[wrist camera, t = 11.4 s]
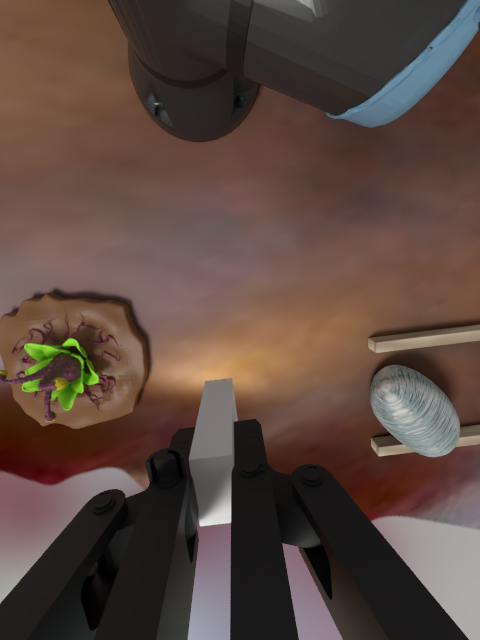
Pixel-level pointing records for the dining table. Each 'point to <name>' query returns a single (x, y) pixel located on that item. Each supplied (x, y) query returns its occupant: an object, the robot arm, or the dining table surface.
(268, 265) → the dining table surface
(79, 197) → the dining table surface
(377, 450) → the bay
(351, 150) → the dining table surface
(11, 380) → the plant
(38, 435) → the dining table surface
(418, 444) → the streaked grey egg
